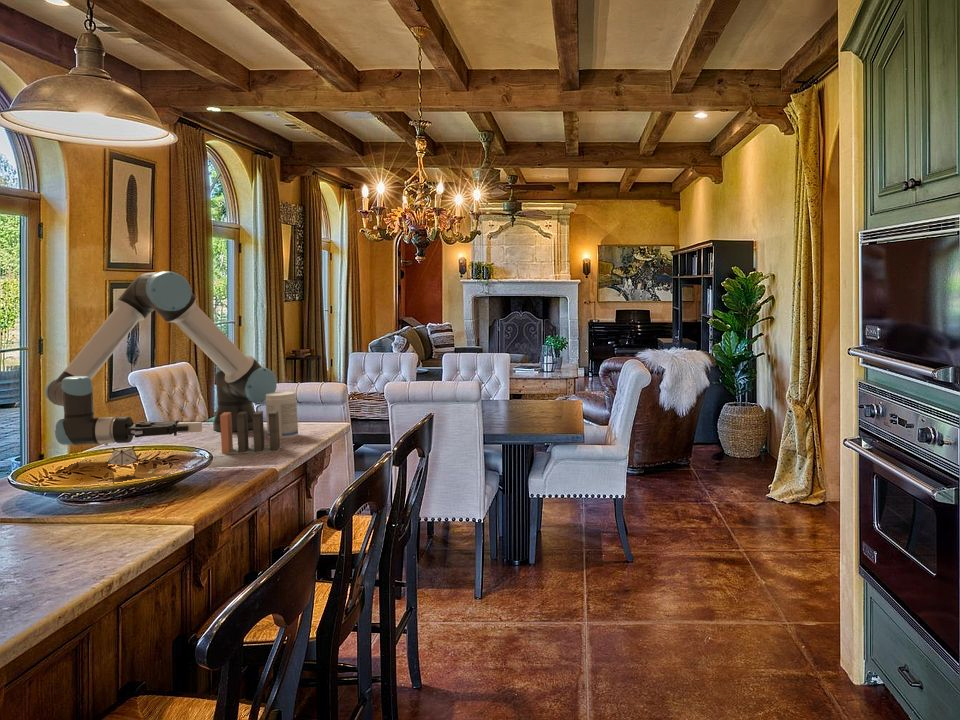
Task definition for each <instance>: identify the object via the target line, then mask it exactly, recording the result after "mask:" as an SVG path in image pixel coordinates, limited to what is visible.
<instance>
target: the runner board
mask: <svg viewBox="0 0 960 720" xmlns="http://www.w3.org/2000/svg"><path fill="white" fill-rule="evenodd" d="M282 447H283V445H280V447H279V449H278V450H277V451H270V445H269V446H264V449H263V450H262V451H260V452H254V446H252V447H251V446H249V449H248V450H247V451H246V452H238V447H233V449H232V450H231V451H230V452H229V453H222V451H221V452H220V453H219V455H232V454H234V455H236V454H259V453H275V452H276V453H278V452H280V450H281V448H282Z"/></svg>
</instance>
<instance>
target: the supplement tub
mask: <svg viewBox="0 0 960 720" xmlns="http://www.w3.org/2000/svg"><path fill="white" fill-rule="evenodd" d="M297 405H298V404H297V397H296V392H295V391H275V392H274V393H268V394H266V401H265V411H266V427H267V428H266V429H267V437H268V438H269V439H270V435H269V413H270V412H271V411H276V410H278V414H279V437H280V440H281V439H290V438H296V437H298V436H299V424H298V423H299V422H298V408H297Z"/></svg>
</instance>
